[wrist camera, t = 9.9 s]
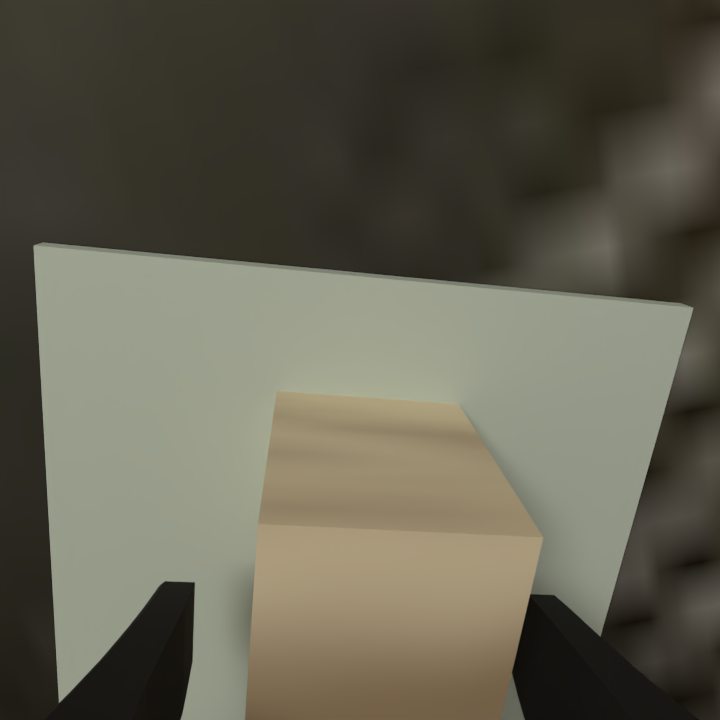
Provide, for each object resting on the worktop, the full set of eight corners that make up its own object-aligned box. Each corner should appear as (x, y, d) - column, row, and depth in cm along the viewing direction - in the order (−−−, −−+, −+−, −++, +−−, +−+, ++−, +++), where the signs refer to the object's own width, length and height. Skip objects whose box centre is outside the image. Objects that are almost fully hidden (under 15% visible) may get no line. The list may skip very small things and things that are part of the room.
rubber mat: (681, 303, 15) (693, 307, 14) (562, 734, 19) (568, 748, 18) (43, 242, 13) (33, 245, 12) (68, 730, 17) (61, 745, 17)
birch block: (413, 665, 17) (461, 888, 12) (257, 661, 16) (233, 893, 11) (458, 403, 14) (543, 537, 9) (276, 391, 14) (258, 524, 9)
